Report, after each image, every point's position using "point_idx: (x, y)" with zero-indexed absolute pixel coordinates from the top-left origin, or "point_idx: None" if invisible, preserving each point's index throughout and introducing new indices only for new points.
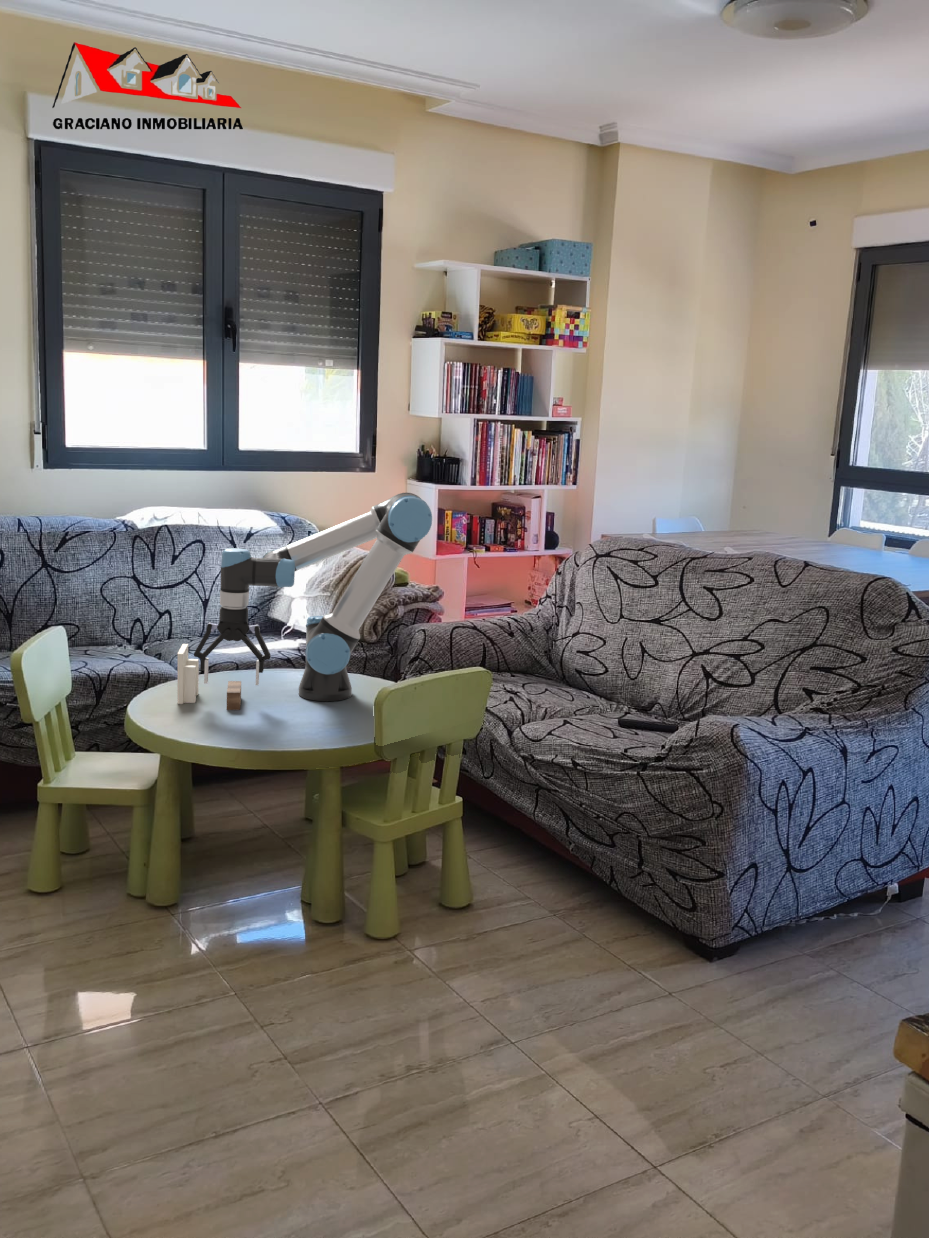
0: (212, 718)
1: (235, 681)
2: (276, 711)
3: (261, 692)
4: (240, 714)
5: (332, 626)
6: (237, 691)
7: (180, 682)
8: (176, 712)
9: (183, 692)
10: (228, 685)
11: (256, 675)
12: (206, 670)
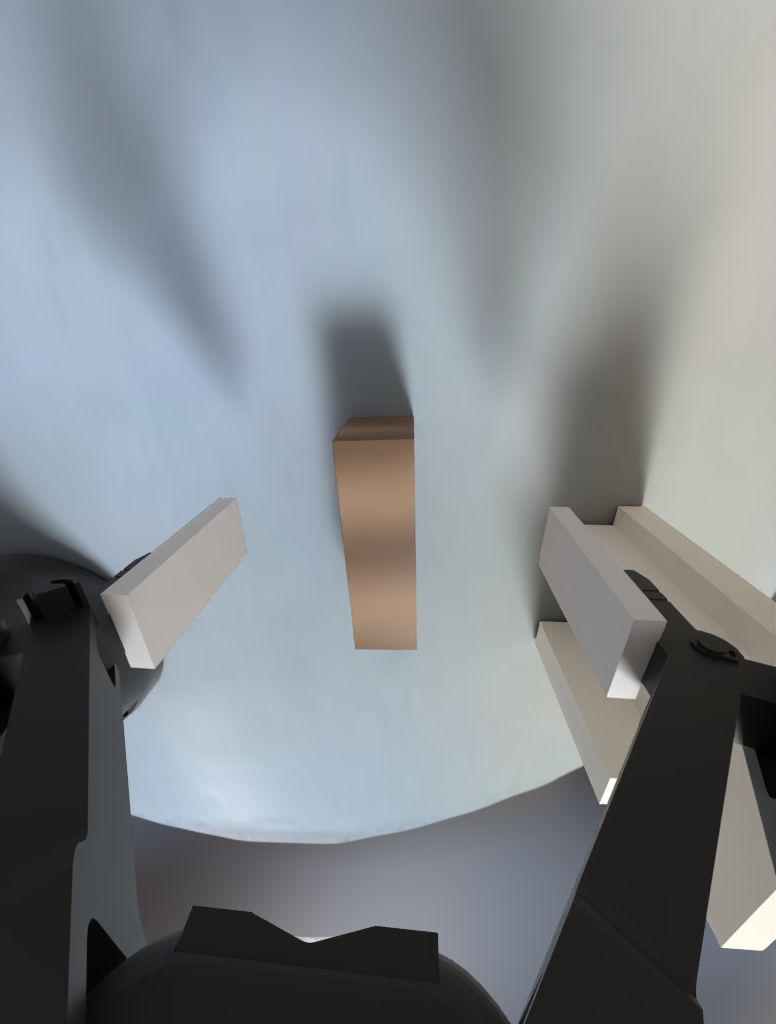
0: (484, 247)
1: (382, 644)
2: (176, 407)
3: (299, 659)
4: (338, 343)
5: None
6: (351, 465)
7: (704, 563)
8: (673, 368)
9: (643, 543)
10: (412, 580)
11: (197, 527)
12: (593, 555)
